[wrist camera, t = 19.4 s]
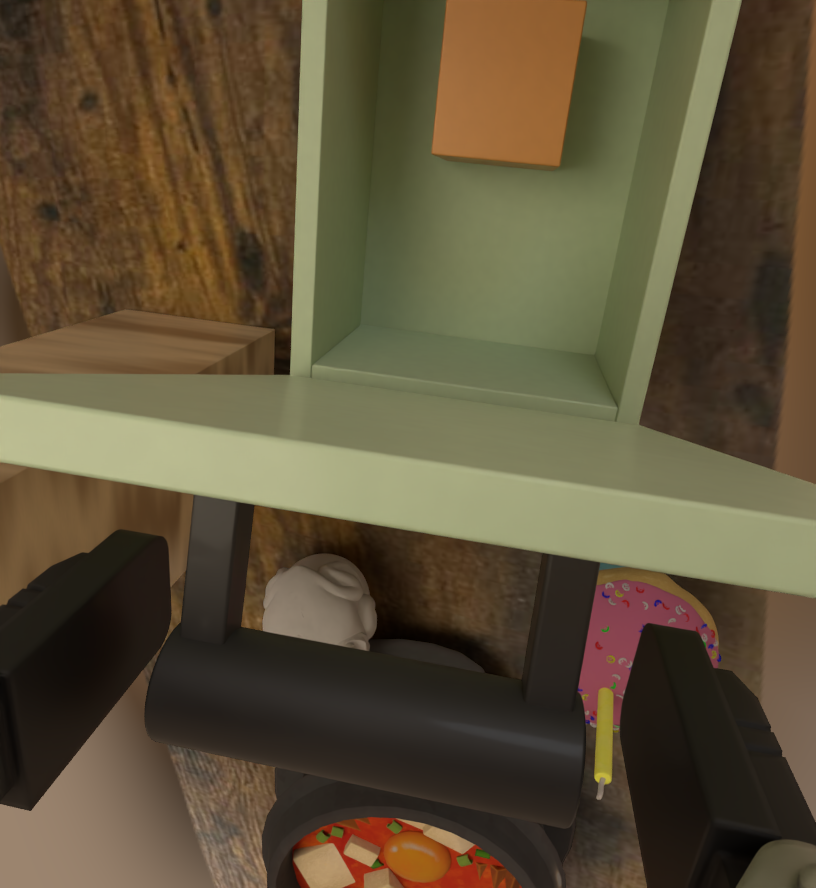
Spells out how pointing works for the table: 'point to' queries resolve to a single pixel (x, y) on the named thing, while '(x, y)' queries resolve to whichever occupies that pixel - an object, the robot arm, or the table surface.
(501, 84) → the orange rectangular box
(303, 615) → the frog figurine
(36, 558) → the tall wooden pillar
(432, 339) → the chest
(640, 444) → the lid
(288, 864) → the casserole
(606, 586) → the cupcake
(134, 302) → the table surface
